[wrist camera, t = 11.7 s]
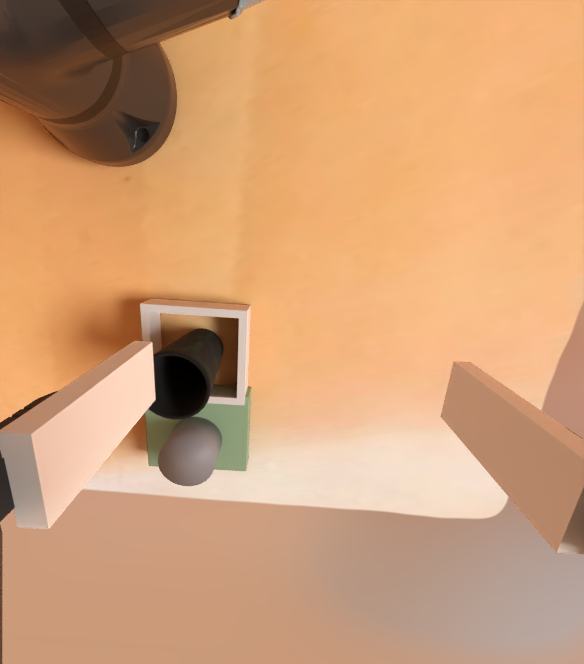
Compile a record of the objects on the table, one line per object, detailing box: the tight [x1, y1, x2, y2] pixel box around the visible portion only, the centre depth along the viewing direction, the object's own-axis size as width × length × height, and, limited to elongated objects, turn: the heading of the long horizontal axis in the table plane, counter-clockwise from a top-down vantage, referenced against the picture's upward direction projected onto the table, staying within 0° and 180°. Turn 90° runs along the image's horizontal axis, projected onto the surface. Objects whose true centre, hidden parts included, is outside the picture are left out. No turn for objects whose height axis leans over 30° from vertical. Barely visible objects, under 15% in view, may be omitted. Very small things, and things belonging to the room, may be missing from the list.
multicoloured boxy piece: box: [140, 298, 251, 486], centre depth 41 cm, size 24×14×8 cm, turn 176°
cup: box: [148, 329, 223, 420], centre depth 38 cm, size 8×8×12 cm
